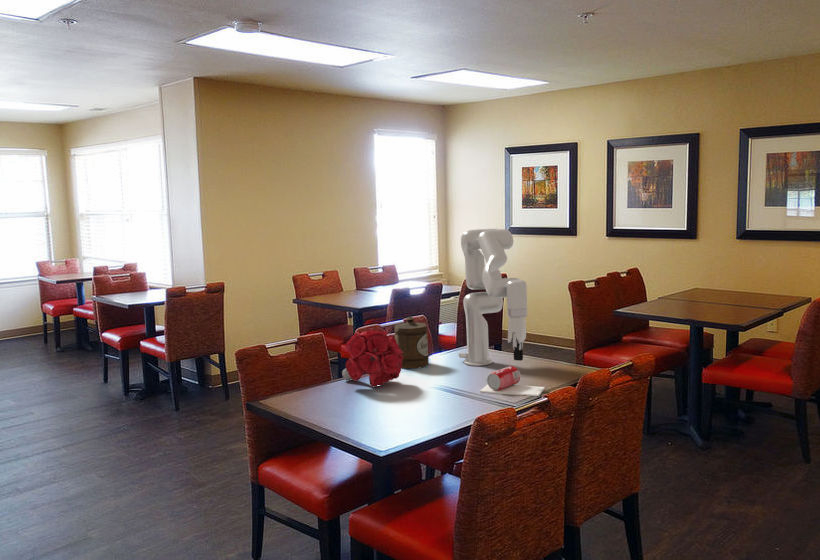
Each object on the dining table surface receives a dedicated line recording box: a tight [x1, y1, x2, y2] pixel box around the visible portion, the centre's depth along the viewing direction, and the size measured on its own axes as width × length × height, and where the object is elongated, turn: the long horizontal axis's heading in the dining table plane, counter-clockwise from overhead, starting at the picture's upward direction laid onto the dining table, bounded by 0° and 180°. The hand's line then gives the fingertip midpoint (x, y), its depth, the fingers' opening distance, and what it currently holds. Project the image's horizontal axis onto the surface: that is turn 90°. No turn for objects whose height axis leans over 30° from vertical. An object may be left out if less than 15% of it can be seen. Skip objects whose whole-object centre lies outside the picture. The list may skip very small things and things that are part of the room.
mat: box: [479, 383, 545, 397], centre depth 248 cm, size 22×11×1 cm, turn 67°
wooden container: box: [394, 316, 429, 369], centre depth 296 cm, size 15×15×22 cm
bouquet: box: [341, 329, 404, 388], centre depth 265 cm, size 22×24×30 cm
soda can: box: [486, 365, 521, 390], centre depth 251 cm, size 7×7×13 cm
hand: (518, 359), depth 253 cm, fingers closed
